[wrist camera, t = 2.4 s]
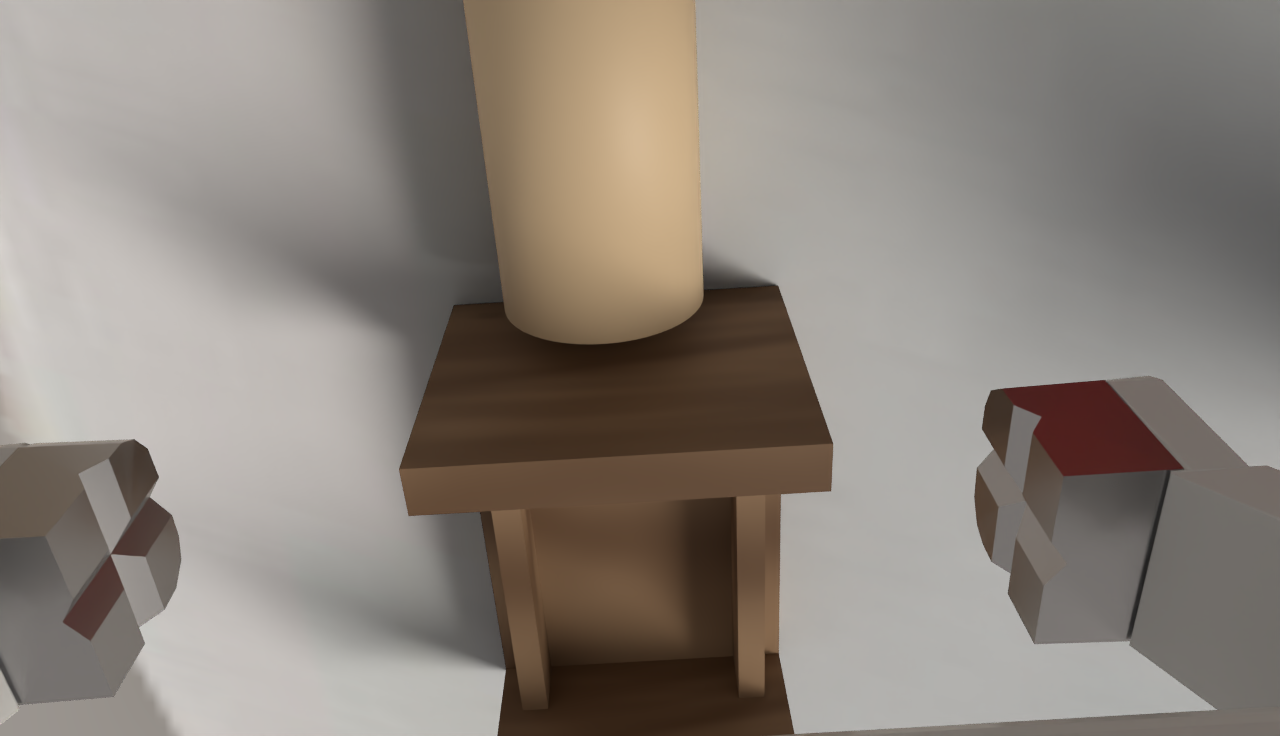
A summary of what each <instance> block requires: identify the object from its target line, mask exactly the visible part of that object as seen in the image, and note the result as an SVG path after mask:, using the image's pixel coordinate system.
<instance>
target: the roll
mask: <svg viewBox="0 0 1280 736" xmlns="http://www.w3.org/2000/svg"><path fill="white" fill-rule="evenodd" d="M463 4H464V11H465V19H466V26H467V33H468V41H469V48H470V56H471V63H472V71H473V78H474V85H475V93H476V100H477V108H478V115H479V123H480V130H481V137H482V145H483V152H484V160H485V167H486V175H487V182H488V189H489V197H490V204H491V212H492V219H493V227H494V234H495V241H496V249H497V256H498V264H499V271H500V279H501V286H502V293H503V301H504V308H505V313H506V316H507V318H508V319H509V321H510V322H511V323H512V324H513V325H514V326H515V327H517V328H518V329H520V330H521V331H523V332H525V333H527V334H530V335H532V336H535V337H538V338H541V339H545V340H550V341H554V342H561V343H570V344H609V343H619V342H625V341H631V340H637V339H641V338H645V337H649V336H652V335H655V334H659V333H661V332H664V331H667V330H669V329H671V328H673V327H675V326H677V325H679V324H681V323H683V322H684V321H686V320H687V319H689V318H690V317H691V316H692V315H693V314H695V313H696V311H697V310H698V309H699V308H700V306H701V304H702V302H703V296H704V295H703V260H702V225H701V190H700V155H699V120H698V85H697V50H696V15H695V0H463Z"/></svg>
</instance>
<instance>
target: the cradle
mask: <svg viewBox="0 0 1280 736" xmlns="http://www.w3.org/2000/svg"><path fill="white" fill-rule="evenodd" d="M703 295H704V296H703V302H702V304H701V306H700V308H699V309H698V310H697V311H696V313H695V314H693V315H692V316H691V317H690V318H689V319H687V320H686V321H684V322H683V323H681V324H679V325H677V326H675V327H673V328H671V329H669V330H667V331H664V332H661V333H659V334H655V335H652V336H649V337H645V338H641V339H637V340H631V341H625V342H619V343H609V344H570V343H561V342H554V341H550V340H545V339H541V338H538V337H535V336H532V335H530V334H527V333H525V332H523V331H521V330H520V329H518V328H517V327H515V326H514V325H513V324H512V323H511V322H510V321H509V319H508V318H507V316H506V313H505V308H504V302H500V303H483V304H467V305H454V306H453V309H452V312H451V315H450V318H449V321H448V324H447V327H446V330H445V333H444V336H443V339H442V342H441V345H440V348H439V351H438V354H437V357H436V360H435V363H434V366H433V369H432V372H431V375H430V378H429V381H428V384H427V387H426V390H425V393H424V396H423V399H422V402H421V405H420V408H419V411H418V414H417V417H416V420H415V423H414V426H413V429H412V432H411V435H410V438H409V441H408V444H407V447H406V450H405V453H404V456H403V459H402V462H401V465H400V468H399V472H400V476H401V481H402V486H403V491H404V496H405V500H406V505H407V510H408V515H409V516H416V515H433V514H450V513H467V512H480V514H481V520H482V526H483V532H484V538H485V544H486V550H487V556H488V563H489V569H490V575H491V581H492V587H493V593H494V599H495V605H496V611H497V617H498V623H499V629H500V635H501V641H502V647H503V653H504V659H505V665H506V674H505V682H504V690H503V697H502V705H501V713H500V721H499V728H498V736H772V735H790V734H794V730H793V725H792V720H791V715H790V709H789V704H788V699H787V694H786V689H785V684H784V679H783V674H782V669H781V663H780V658H779V585H780V511H781V494H791V493H808V492H825V491H831V483H832V460H833V442H832V439H831V436H830V433H829V430H828V427H827V425H826V422H825V419H824V416H823V413H822V410H821V407H820V404H819V402H818V399H817V396H816V393H815V390H814V387H813V384H812V382H811V379H810V376H809V373H808V370H807V367H806V364H805V361H804V359H803V356H802V353H801V350H800V347H799V344H798V341H797V339H796V336H795V333H794V330H793V327H792V324H791V321H790V318H789V316H788V313H787V310H786V307H785V304H784V301H783V298H782V296H781V293H780V290H779V287H778V286H764V287H747V288H731V289H714V290H703Z"/></svg>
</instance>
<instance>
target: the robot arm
mask: <svg viewBox="0 0 1280 736" xmlns="http://www.w3.org/2000/svg"><path fill="white" fill-rule="evenodd" d="M982 430H983V431H984V433H985V435H986V436H987V438H988V440H989V441H990V443H991V445H992V447H993V448H994V450H993V451H992V452H991V453H990V454H989V455H988V456H987V457H986V458H985V460H984V461H983V462H982V463H981V464H980V465H979V466H978V467H977V474H976V485H975V496H974V498H975V508H976V519H977V526H978V529H979V533H980V536H981V539H982V543H983V545H984V547H985V549H986V551H987V554H988V556H989V558H990V560H991V562H993V563H994V564H996V565H998V566H999V567H1001V568H1003V569H1004V570H1006V571H1008V572H1009V573H1011V575H1010V582H1009V589H1008V595H1009V597H1010V599H1011V601H1012V603H1013V604H1014V606H1015V608H1016V610H1017V612H1018V614H1019V616H1020V618H1021V620H1022V622H1023V624H1024V625H1025V627H1026V629H1027V631H1028V633H1029V635H1030V637H1031V639H1032V641H1033V643H1034V644H1052V643H1084V642H1116V641H1130V646H1131V647H1133V648H1134V649H1135V650H1137V651H1138V652H1139V653H1141V654H1142V655H1144V656H1145V657H1146V658H1148V659H1149V660H1150V661H1152V662H1153V663H1154V664H1156V665H1157V666H1158V667H1160V668H1161V669H1163V670H1164V671H1165V672H1167V673H1168V674H1169V675H1171V676H1172V677H1173V678H1175V679H1176V680H1178V681H1179V682H1180V683H1182V684H1183V685H1184V686H1186V687H1187V688H1188V689H1190V690H1191V691H1193V692H1194V693H1195V694H1197V695H1198V696H1199V697H1201V698H1202V699H1203V700H1205V701H1206V702H1208V703H1209V704H1210V705H1212V706H1213V707H1214V708H1216V709H1217V710H1210V711H1192V712H1175V713H1157V714H1140V715H1122V716H1105V717H1087V718H1070V719H1052V720H1035V721H1017V722H1000V723H982V724H965V725H947V726H930V727H912V728H895V729H877V730H860V731H842V732H825V733H807V734H790V735H772V736H1280V471H1279V470H1277V469H1274V468H1272V467H1269V466H1251V467H1249V466H1248V465H1247V464H1246V463H1245V462H1244V461H1243V460H1242V459H1241V458H1240V457H1239V456H1238V455H1237V454H1236V453H1235V452H1234V451H1233V450H1232V449H1231V448H1230V447H1229V446H1228V445H1227V444H1226V443H1225V442H1224V441H1223V440H1222V439H1221V438H1220V437H1219V436H1218V435H1217V434H1216V433H1215V432H1214V431H1213V430H1212V429H1211V428H1210V427H1209V426H1208V425H1207V424H1206V423H1205V422H1204V421H1203V420H1202V419H1201V418H1200V417H1199V416H1198V415H1197V414H1196V413H1195V412H1194V411H1193V410H1192V409H1191V408H1190V407H1189V406H1188V405H1187V404H1186V403H1185V402H1184V401H1183V400H1182V399H1181V398H1180V397H1179V396H1178V395H1177V394H1176V393H1175V392H1174V391H1173V390H1172V389H1171V388H1170V387H1169V386H1168V385H1167V384H1166V383H1165V382H1164V381H1163V380H1161V379H1158V378H1155V377H1152V376H1143V377H1133V378H1123V379H1113V380H1100V381H1088V382H1076V383H1064V384H1052V385H1040V386H1028V387H1016V388H1004V389H997V390H992V391H991V392H990V394H989V397H988V400H987V402H986V405H985V410H984V418H983V425H982ZM158 478H159V476H158V474H157V471H156V469H155V466H154V464H153V461H152V459H151V456H150V454H149V451H148V449H147V448H146V447H144V446H143V445H141V444H140V443H139V442H137V441H136V440H134V439H130V440H106V441H81V442H56V443H34V444H27V443H19V444H7V445H0V725H1V724H2V723H3V722H5V721H6V720H7V719H8V718H9V717H11V716H12V715H13V714H14V713H16V712H17V711H18V710H19V705H23V704H35V703H46V702H58V701H71V700H81V699H94V698H106V697H114V696H115V694H116V692H117V691H118V689H119V687H120V685H121V683H122V682H123V680H124V679H125V677H126V675H127V673H128V672H129V670H130V668H131V667H132V665H133V663H134V661H135V660H136V658H137V656H138V655H139V653H140V651H141V649H142V648H143V646H144V644H145V642H144V640H143V637H142V634H141V632H140V629H139V627H140V626H142V625H143V624H144V623H146V622H147V621H149V620H150V619H152V618H153V617H155V616H156V615H158V614H159V613H160V612H162V611H163V610H165V608H166V606H167V604H168V602H169V600H170V599H171V597H172V595H173V593H174V591H175V589H176V586H177V580H178V575H179V569H180V564H181V553H180V543H179V535H178V532H177V529H176V526H175V523H174V520H173V517H172V515H171V514H170V513H169V512H167V511H166V510H165V509H164V508H162V507H161V506H160V505H159V504H157V503H156V502H155V501H154V500H153V499H151V498H150V495H151V493H152V491H153V489H154V487H155V485H156V482H157V480H158Z"/></svg>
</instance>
